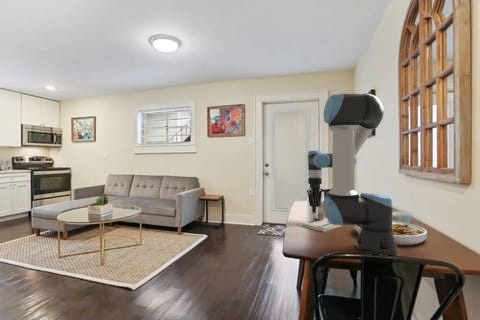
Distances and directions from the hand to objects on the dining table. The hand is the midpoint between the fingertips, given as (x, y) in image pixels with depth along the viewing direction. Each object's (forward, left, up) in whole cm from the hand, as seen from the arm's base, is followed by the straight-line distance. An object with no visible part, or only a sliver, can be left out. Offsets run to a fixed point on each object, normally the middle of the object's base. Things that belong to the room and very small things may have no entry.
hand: (315, 217), depth 148 cm
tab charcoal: (+3, 0, -2) cm, 3 cm away
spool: (+33, -33, -4) cm, 46 cm away
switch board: (+2, -5, -4) cm, 6 cm away
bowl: (+8, -37, -5) cm, 38 cm away
